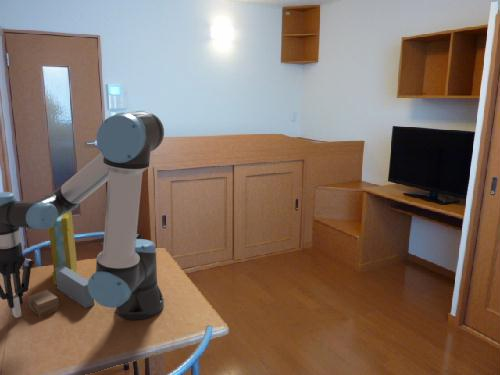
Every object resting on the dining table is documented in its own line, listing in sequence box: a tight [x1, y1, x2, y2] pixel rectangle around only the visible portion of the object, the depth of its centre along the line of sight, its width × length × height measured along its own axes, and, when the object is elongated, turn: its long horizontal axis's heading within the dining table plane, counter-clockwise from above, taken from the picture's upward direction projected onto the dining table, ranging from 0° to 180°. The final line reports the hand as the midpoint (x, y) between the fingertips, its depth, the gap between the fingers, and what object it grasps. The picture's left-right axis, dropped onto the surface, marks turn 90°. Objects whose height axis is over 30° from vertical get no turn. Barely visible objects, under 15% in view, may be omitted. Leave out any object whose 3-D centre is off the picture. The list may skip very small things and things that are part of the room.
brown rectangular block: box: [27, 289, 60, 318], centre depth 131 cm, size 8×6×4 cm
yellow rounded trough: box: [47, 210, 78, 286], centre depth 153 cm, size 17×7×25 cm, turn 17°
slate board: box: [55, 265, 95, 309], centre depth 138 cm, size 20×3×8 cm, turn 50°
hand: (17, 315), depth 125 cm, fingers closed
